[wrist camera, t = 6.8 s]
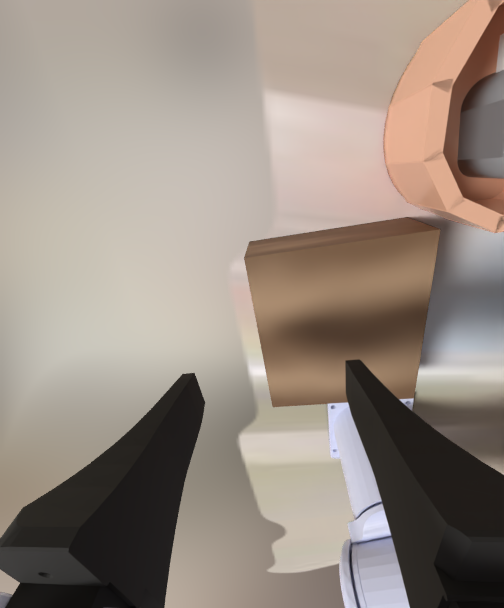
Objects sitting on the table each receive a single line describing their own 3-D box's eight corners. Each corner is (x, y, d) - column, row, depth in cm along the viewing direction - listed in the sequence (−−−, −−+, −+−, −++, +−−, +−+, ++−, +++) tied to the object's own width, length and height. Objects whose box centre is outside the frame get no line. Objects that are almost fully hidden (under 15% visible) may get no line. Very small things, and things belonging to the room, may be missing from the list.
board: (392, 363, 23) (413, 398, 20) (272, 373, 25) (272, 407, 21) (406, 217, 18) (440, 229, 14) (249, 241, 19) (244, 258, 16)
